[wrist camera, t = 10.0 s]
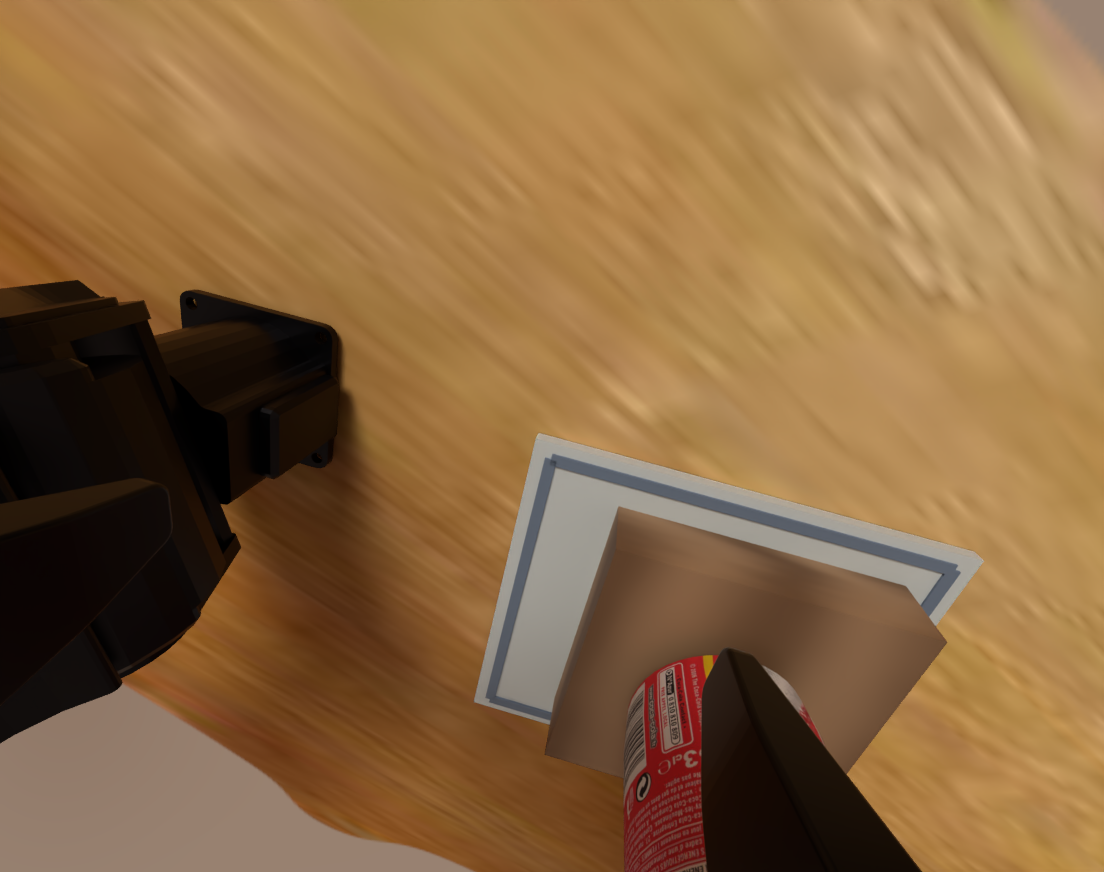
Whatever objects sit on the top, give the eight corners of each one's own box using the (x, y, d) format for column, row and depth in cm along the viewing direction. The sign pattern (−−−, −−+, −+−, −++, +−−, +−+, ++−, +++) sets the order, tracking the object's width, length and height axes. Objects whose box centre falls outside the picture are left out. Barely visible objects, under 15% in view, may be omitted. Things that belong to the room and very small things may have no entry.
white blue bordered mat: (476, 692, 28) (473, 703, 27) (538, 432, 21) (535, 439, 20) (802, 789, 27) (806, 803, 26) (974, 551, 20) (985, 562, 20)
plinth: (554, 698, 26) (544, 754, 23) (618, 506, 21) (616, 549, 18) (784, 766, 26) (801, 832, 23) (905, 585, 21) (947, 642, 18)
